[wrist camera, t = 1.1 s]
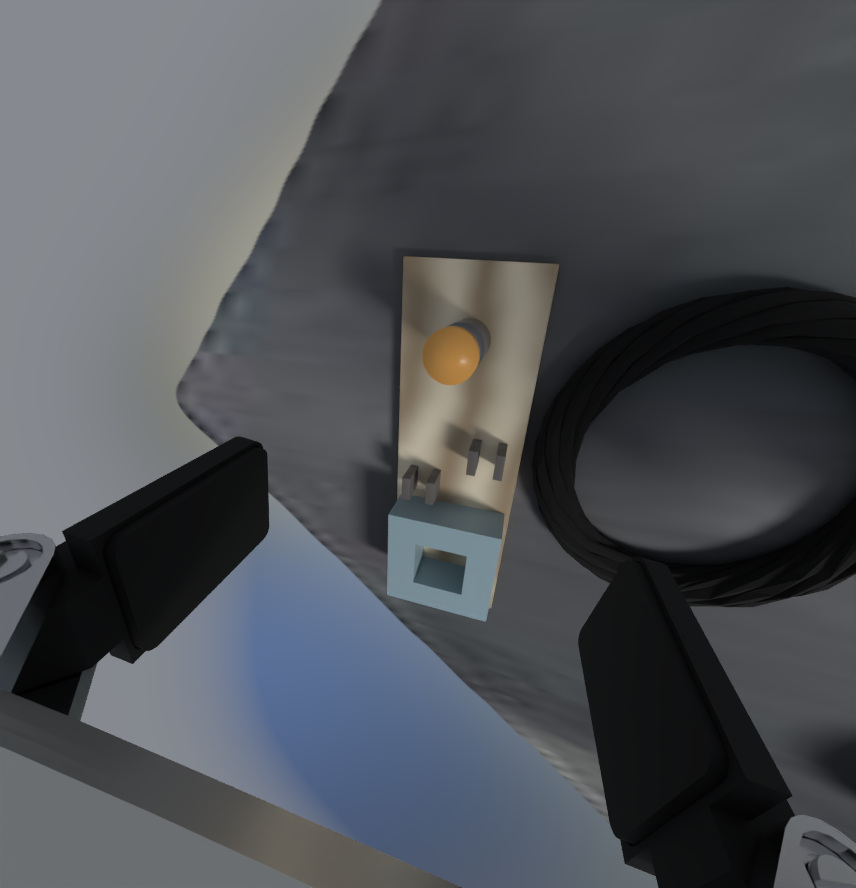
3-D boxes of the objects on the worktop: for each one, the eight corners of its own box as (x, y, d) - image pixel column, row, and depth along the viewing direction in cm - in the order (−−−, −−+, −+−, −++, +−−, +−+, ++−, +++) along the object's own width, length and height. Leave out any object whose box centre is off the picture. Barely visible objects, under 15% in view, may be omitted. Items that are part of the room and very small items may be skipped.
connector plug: (493, 320, 28) (481, 330, 21) (487, 364, 29) (474, 388, 22) (450, 316, 28) (423, 325, 21) (446, 359, 30) (420, 381, 23)
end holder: (504, 514, 35) (501, 539, 31) (489, 591, 39) (485, 621, 36) (401, 493, 37) (388, 514, 33) (399, 569, 42) (387, 594, 38)
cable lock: (482, 393, 28) (1070, 145, 16) (487, 382, 31) (976, 170, 19) (591, 633, 35) (1057, 588, 23) (586, 603, 38) (990, 550, 26)
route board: (558, 265, 26) (562, 261, 22) (492, 600, 41) (488, 629, 38) (408, 257, 28) (391, 252, 25) (398, 575, 44) (386, 600, 40)
